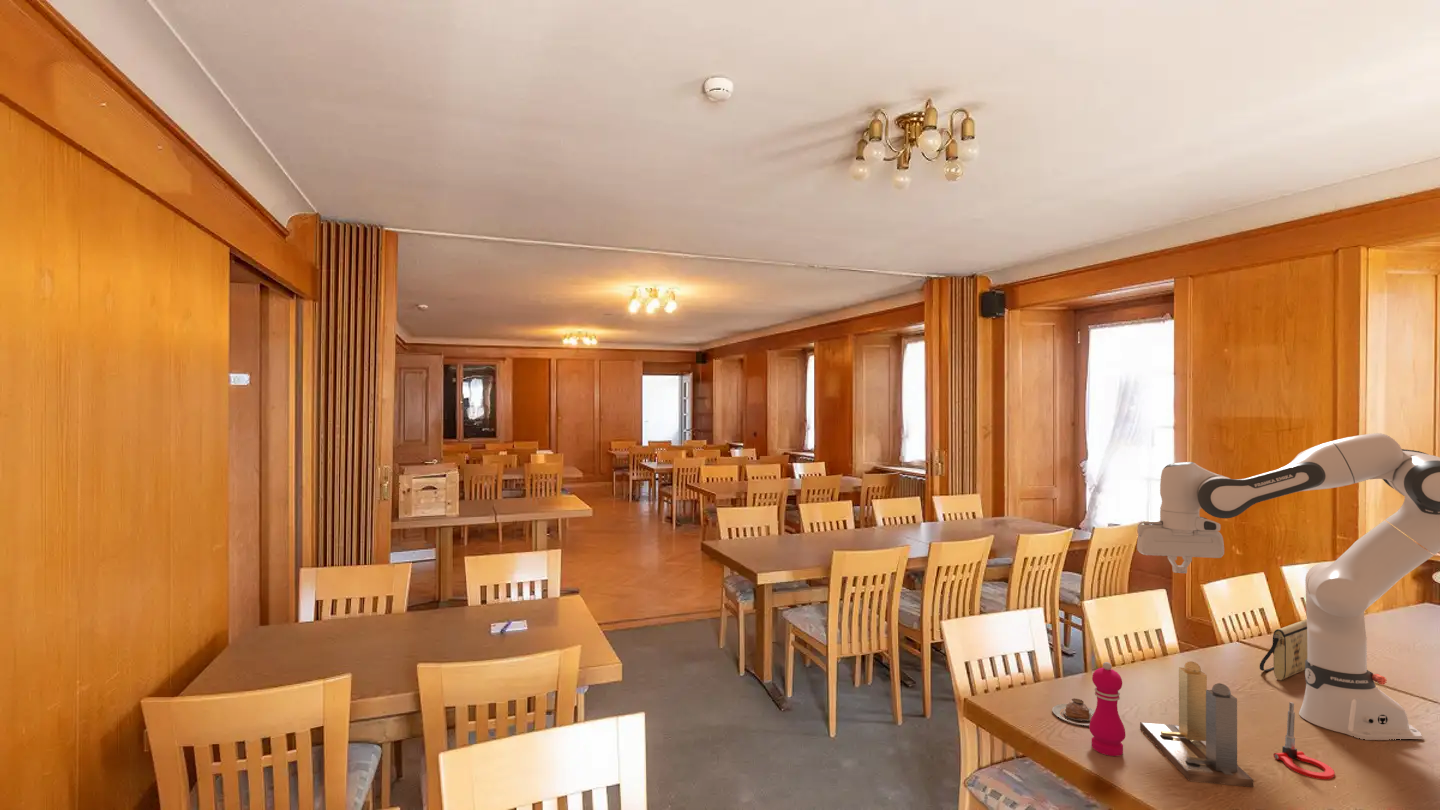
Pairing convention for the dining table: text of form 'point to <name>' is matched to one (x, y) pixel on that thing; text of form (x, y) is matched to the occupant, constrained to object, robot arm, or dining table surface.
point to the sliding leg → (1191, 703)
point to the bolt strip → (1179, 748)
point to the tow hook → (1300, 753)
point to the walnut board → (1217, 776)
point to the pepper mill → (1107, 712)
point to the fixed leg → (1220, 730)
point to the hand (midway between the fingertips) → (1179, 572)
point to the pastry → (1074, 711)
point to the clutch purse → (1288, 650)
